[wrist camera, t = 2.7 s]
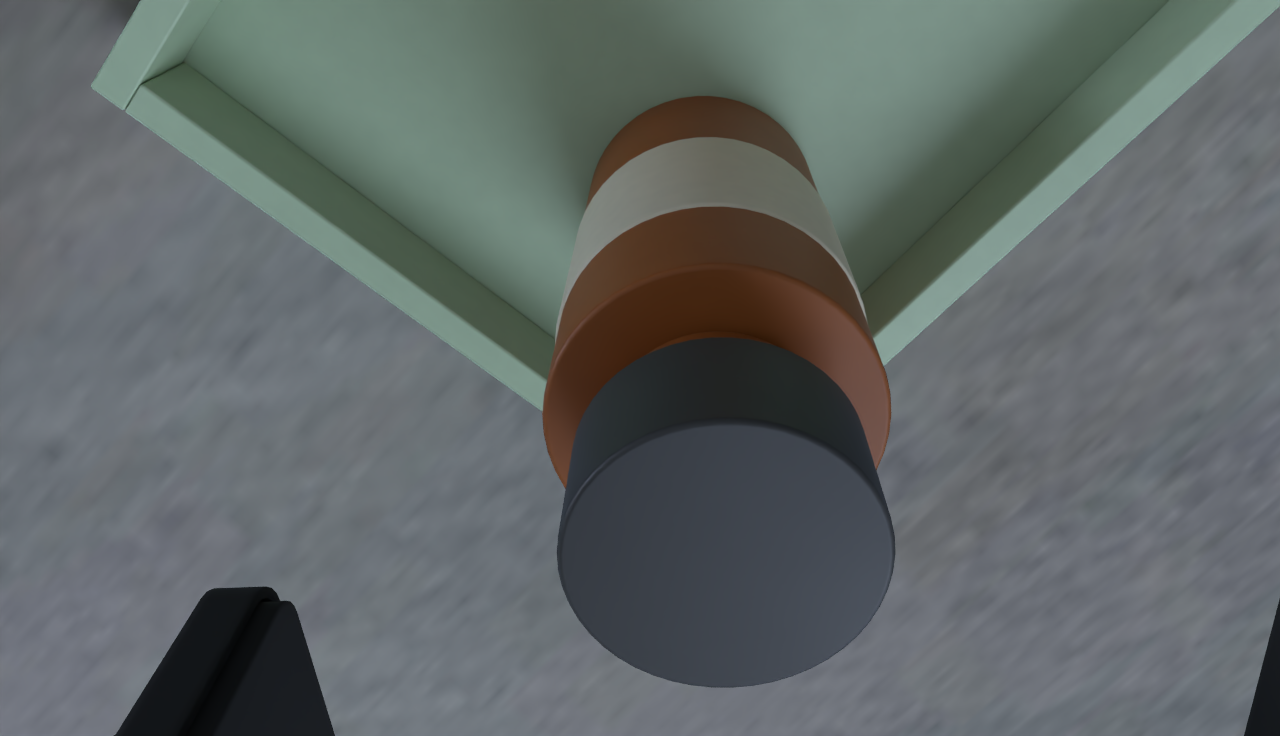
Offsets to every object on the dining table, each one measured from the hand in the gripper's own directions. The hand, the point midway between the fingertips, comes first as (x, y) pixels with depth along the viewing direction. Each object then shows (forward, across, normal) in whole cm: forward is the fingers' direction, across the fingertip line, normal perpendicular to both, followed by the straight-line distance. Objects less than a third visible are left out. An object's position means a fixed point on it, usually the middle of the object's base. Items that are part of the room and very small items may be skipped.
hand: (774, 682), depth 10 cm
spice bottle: (+14, +1, 0) cm, 14 cm away
